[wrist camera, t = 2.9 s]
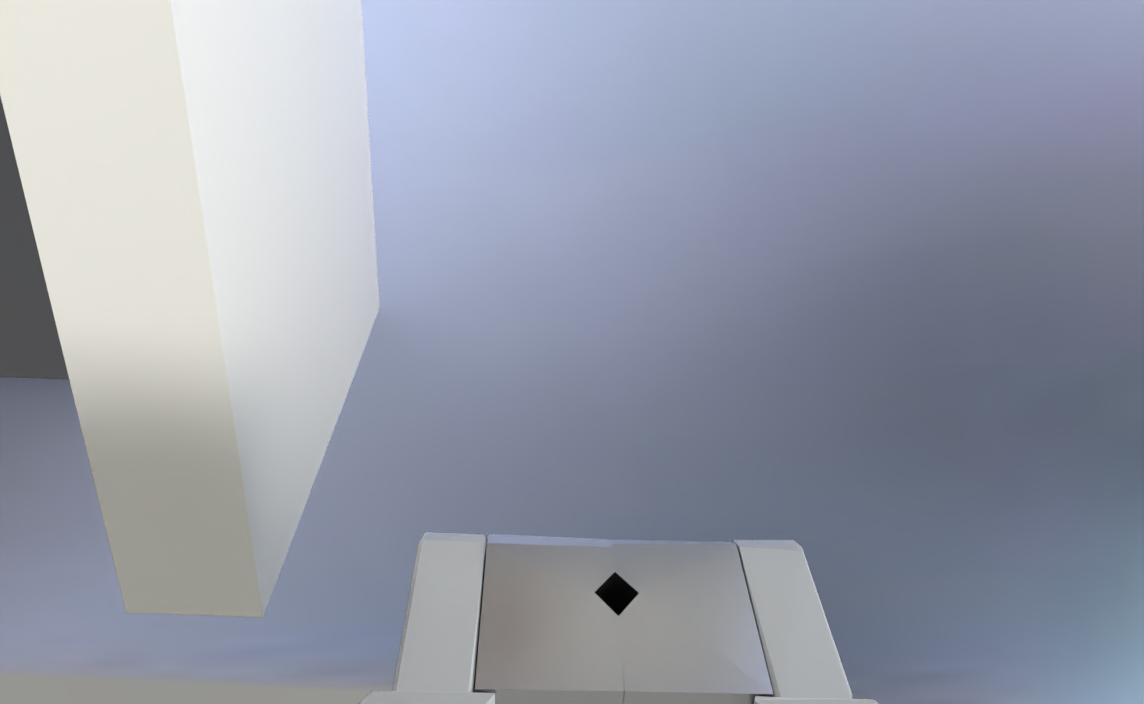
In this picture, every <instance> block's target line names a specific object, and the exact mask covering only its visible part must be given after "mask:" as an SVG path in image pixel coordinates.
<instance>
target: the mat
mask: <svg viewBox="0 0 1144 704" xmlns="http://www.w3.org/2000/svg"><path fill="white" fill-rule="evenodd" d="M0 377H22V378H48V379H69V376H68V372H67V368H66V364H65V360H64V355H63V351H62V347H61V343H60V339H59V335H58V331H57V327H56V323H55V318H54V314H53V310H52V306H51V302H50V298H49V294H48V290H47V285H46V281H45V277H44V273H43V269H42V265H41V261H40V257H39V252H38V248H37V244H36V240H35V236H34V232H33V228H32V224H31V220H30V215H29V211H28V207H27V203H26V199H25V195H24V191H23V187H22V182H21V178H20V174H19V170H18V166H17V162H16V158H15V154H14V150H13V145H12V141H11V137H10V133H9V129H8V125H7V121H6V117H5V112H4V108H3V104H2V100H1V96H0Z"/></svg>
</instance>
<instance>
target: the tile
mask: <svg viewBox="0 0 1144 704" xmlns="http://www.w3.org/2000/svg"><path fill="white" fill-rule="evenodd" d="M0 96H1V100H2V104H3V108H4V112H5V117H6V121H7V125H8V129H9V133H10V137H11V141H12V145H13V150H14V154H15V158H16V162H17V166H18V170H19V174H20V178H21V182H22V187H23V191H24V195H25V199H26V203H27V207H28V211H29V215H30V220H31V224H32V228H33V232H34V236H35V240H36V244H37V248H38V252H39V257H40V261H41V265H42V269H43V273H44V277H45V281H46V285H47V290H48V294H49V298H50V302H51V306H52V310H53V314H54V318H55V323H56V327H57V331H58V335H59V339H60V343H61V347H62V351H63V355H64V360H65V364H66V368H67V372H68V376H69V380H70V384H71V388H72V393H73V397H74V401H75V405H76V409H77V413H78V417H79V421H80V425H81V430H82V434H83V438H84V442H85V446H86V450H87V454H88V458H89V463H90V467H91V471H92V475H93V479H94V483H95V487H96V491H97V495H98V500H99V504H100V508H101V512H102V516H103V520H104V524H105V528H106V533H107V537H108V541H109V545H110V549H111V553H112V557H113V561H114V566H115V570H116V574H117V578H118V582H119V586H120V590H121V594H122V598H123V603H124V607H125V611H126V613H145V614H176V615H207V616H237V617H264V614H265V612H266V609H267V606H268V604H269V601H270V598H271V596H272V593H273V590H274V588H275V585H276V582H277V580H278V577H279V574H280V572H281V569H282V566H283V564H284V561H285V558H286V556H287V553H288V550H289V548H290V545H291V543H292V540H293V537H294V535H295V532H296V529H297V527H298V524H299V521H300V519H301V516H302V513H303V511H304V508H305V505H306V503H307V500H308V497H309V495H310V492H311V489H312V487H313V484H314V481H315V479H316V476H317V473H318V471H319V468H320V465H321V463H322V460H323V457H324V455H325V452H326V450H327V447H328V444H329V442H330V439H331V436H332V434H333V431H334V428H335V426H336V423H337V420H338V418H339V415H340V412H341V410H342V407H343V404H344V402H345V399H346V396H347V394H348V391H349V388H350V386H351V383H352V380H353V378H354V375H355V372H356V370H357V367H358V364H359V362H360V359H361V357H362V354H363V351H364V349H365V346H366V343H367V341H368V338H369V335H370V333H371V330H372V327H373V325H374V322H375V319H376V317H377V314H378V311H379V309H380V307H379V290H378V273H377V256H376V240H375V223H374V206H373V189H372V172H371V155H370V138H369V121H368V104H367V88H366V71H365V54H364V37H363V20H362V3H361V0H0Z"/></svg>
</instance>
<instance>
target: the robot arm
mask: <svg viewBox="0 0 1144 704" xmlns="http://www.w3.org/2000/svg"><path fill="white" fill-rule="evenodd" d="M359 704H879V703H878V702H877V701H875V700H874V699H854V698H853V695H852V692H851V689H850V686H849V683H848V680H847V677H846V674H845V671H844V668H843V665H842V662H841V660H840V657H839V654H838V651H837V648H836V645H835V642H834V639H833V636H832V633H831V630H830V627H829V624H828V622H827V619H826V616H825V613H824V610H823V607H822V604H821V601H820V598H819V595H818V592H817V589H816V586H815V584H814V581H813V578H812V575H811V572H810V569H809V566H808V563H807V560H806V557H805V554H804V551H803V548H802V547H801V546H800V545H799V544H798V543H797V542H796V541H795V540H733V541H732V542H729V541H675V540H612V539H596V538H573V537H551V536H529V535H506V534H489V535H488V538H487V536H486V535H484V534H461V533H436V532H425V533H424V535H423V537H422V539H421V541H420V542H419V544H418V550H417V555H416V561H415V566H414V572H413V577H412V583H411V588H410V594H409V599H408V605H407V610H406V616H405V621H404V627H403V632H402V638H401V644H400V649H399V655H398V660H397V666H396V671H395V677H394V682H393V688H392V691H371V692H370V693H369V694H368V695H367V696H366V697H365V698H364V699H363V700H362V701H361V702H360V703H359Z"/></svg>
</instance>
